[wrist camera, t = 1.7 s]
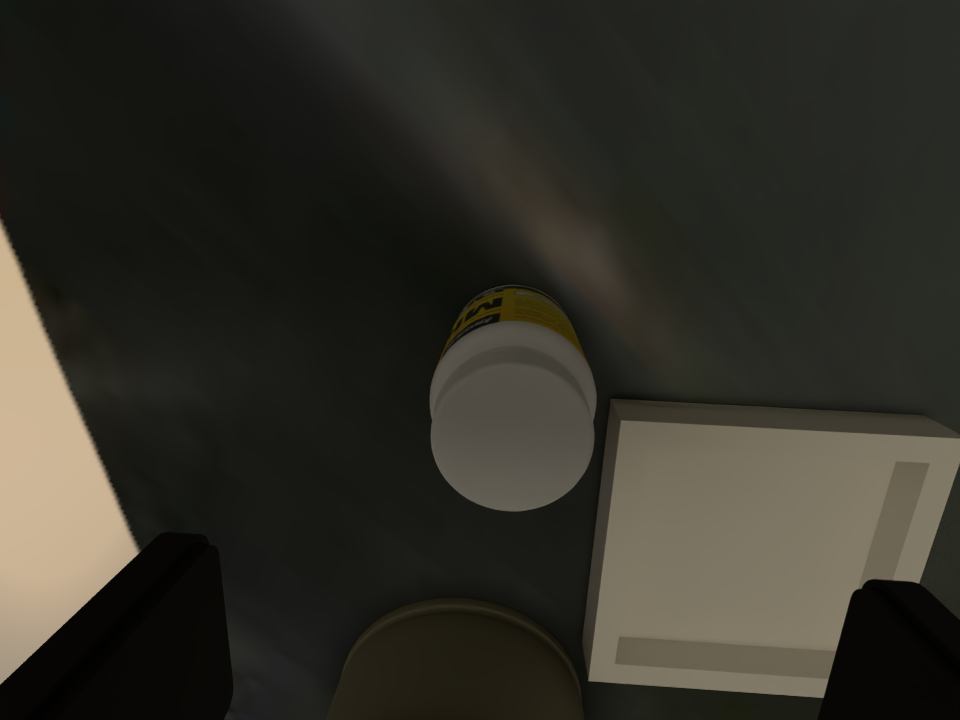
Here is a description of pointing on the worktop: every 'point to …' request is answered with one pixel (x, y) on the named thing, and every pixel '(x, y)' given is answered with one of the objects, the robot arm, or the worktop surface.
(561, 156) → the worktop surface
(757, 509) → the tray
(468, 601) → the can
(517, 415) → the supplement bottle
